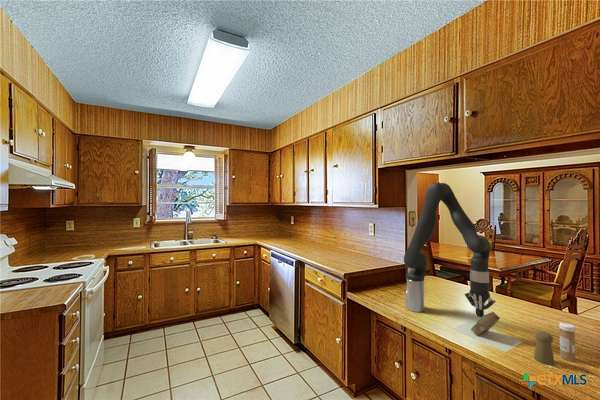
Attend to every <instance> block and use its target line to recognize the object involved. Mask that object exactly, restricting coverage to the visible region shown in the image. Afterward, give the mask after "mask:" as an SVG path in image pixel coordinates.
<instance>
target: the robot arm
mask: <svg viewBox="0 0 600 400" xmlns="http://www.w3.org/2000/svg"><path fill="white" fill-rule="evenodd" d="M440 202H442V203H443V204H444V205H445V206H446V209H448V211H449V215H450V218H451V220H452V223H453V225H454V226H455V227H456V228H457V230H458V232H459V233H460V234H461V236H462V239H463V240H464V243H465V244H466V246H467V248H468V249H469V250H470V251H471V252H472V253H473V255H472V257H471V258H470V272H469V288H470V289H469V291H468V292H466V293H464V296H465V297H466V299H467V300H468V302H469V304H470V305H471V306H472V307H474V308H475V315H476V317H478V318H482V316H484V315H485V311H486V310H488V309H490V308H491V307H492V306H493V305H494V304H495V303H496V299H493V298H492V297H491V294H490V274H489V258H490V253H491V243H490V241H489V239H488V238H486V237H484V236H483V237H482V236H479V234H478V232H477V227H476V226H475V224H474V222H472V220H471V219H470V218H469V216H468V215H467V213H466V212H465V211H464V209H463V207H462V206H461V204H460V203H459V201H458V199H457V197H456V195H455V193H454V191H453V189H452V188H451V186H450V185H449V184H448V183H444V182H434V183H432V184H430V185H429V186H428V187H427V189H426V193H425V198H424V202H423V206H422V209H421V213H420V215H419V218H418V221H417V223H416V225H415V229H414V232H413V234H412V238H411V241H410V243H409V244H408V247H407V249H406V252H405V253H404V256H403V263H404V266H405V267H406V268H408V269H410V271H408V272H407V274H406V291H405V294H404V295H405V304H404V305H405V308H406V309H407V310H409V311H411V312H416V313H422V312H425V277H426V274H427V273H426V272H427V258H426V256H425V253H423V252H422V249H423V248H424V246H425V245H426V244H427V243H428V242H429V241H430V240H431V238H432V237H433V235H434V232H435V230H436V227H437V209H438V207H439V205H440ZM486 302H487V303H486Z"/></svg>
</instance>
